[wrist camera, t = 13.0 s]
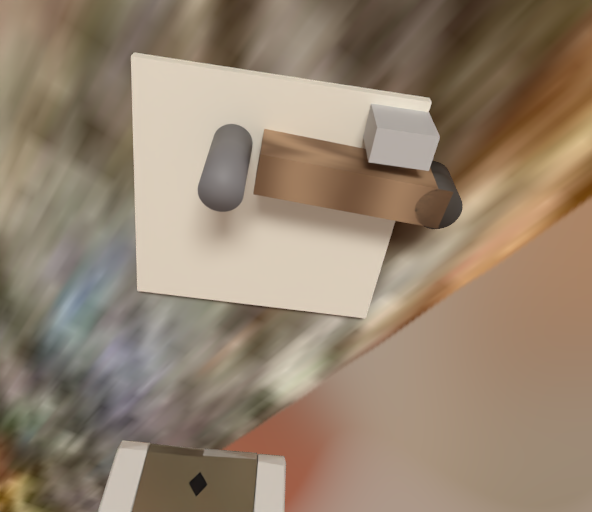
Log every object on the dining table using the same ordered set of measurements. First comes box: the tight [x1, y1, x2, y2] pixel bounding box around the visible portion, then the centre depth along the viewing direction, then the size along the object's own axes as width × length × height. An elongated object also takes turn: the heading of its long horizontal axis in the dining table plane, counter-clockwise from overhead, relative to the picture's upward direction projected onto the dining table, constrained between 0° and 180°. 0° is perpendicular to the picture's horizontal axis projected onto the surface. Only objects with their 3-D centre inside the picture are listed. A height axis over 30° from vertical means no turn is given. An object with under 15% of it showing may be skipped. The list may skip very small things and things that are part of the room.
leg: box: [253, 129, 462, 229], centre depth 39 cm, size 14×3×4 cm, turn 78°
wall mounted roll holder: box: [131, 53, 440, 318], centre depth 40 cm, size 20×20×8 cm
